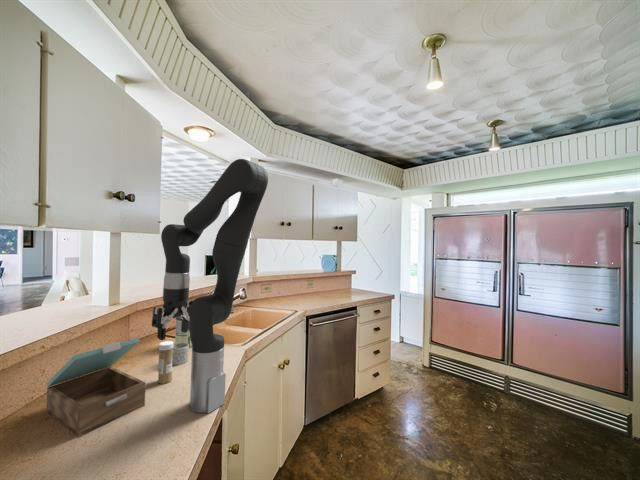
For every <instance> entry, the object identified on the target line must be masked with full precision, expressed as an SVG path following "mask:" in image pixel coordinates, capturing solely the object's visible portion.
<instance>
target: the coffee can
mask: <svg viewBox="0 0 640 480" xmlns="http://www.w3.org/2000/svg"><path fill="white" fill-rule="evenodd" d="M182 321H183V319H182V318H181V317H176V318H175V336H174V337H175V339H174V340H175V341H174V342H175V343H174V344H176V343H188V344H189V349H192V343H191V339H190V321H189V328H188V331H187V332H182V331H181V325H182Z"/></svg>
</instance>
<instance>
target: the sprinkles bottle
mask: <svg viewBox="0 0 640 480" xmlns="http://www.w3.org/2000/svg"><path fill="white" fill-rule="evenodd" d="M173 344H174V341H172V340H166V341H165V340H164V341H162V342H160V343H159V344H158V366H157V367H158V368H157V369H158V370H157V373H158V374H157V375H158V378H157V379H158V380H157V383H158V384H161V385H162V384H163V385H164V384H168V383H170V382H172V380H173V365H172V359H173V358H172V355H173Z"/></svg>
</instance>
